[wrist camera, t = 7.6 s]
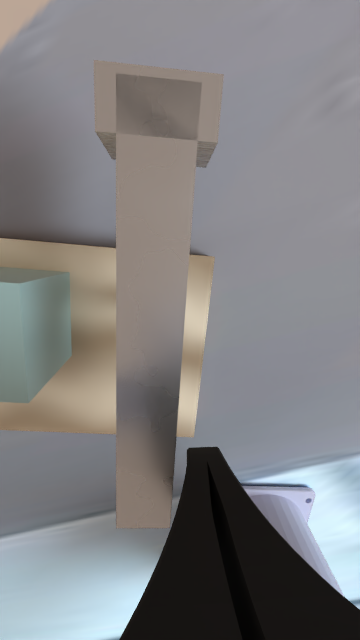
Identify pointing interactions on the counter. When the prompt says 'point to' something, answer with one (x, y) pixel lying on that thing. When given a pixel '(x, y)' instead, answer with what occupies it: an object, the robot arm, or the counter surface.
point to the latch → (152, 262)
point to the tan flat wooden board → (100, 341)
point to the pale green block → (32, 330)
